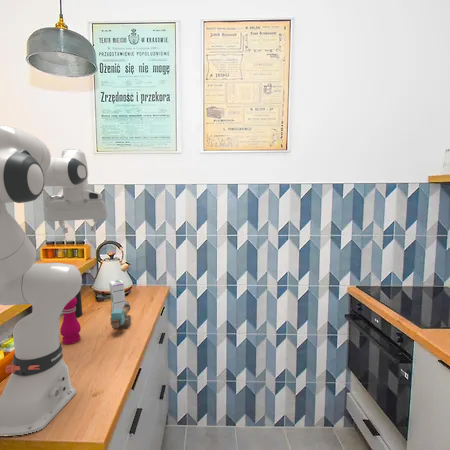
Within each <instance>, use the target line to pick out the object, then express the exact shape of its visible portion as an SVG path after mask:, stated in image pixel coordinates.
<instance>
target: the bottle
mask: <svg viewBox="0 0 450 450" xmlns="http://www.w3.org/2000/svg"><path fill="white" fill-rule="evenodd" d="M81 289H82V288H81ZM81 289H80V291H79V292H78V294H77V295H76V296H75V297H76V299H77V303H76V305H75V306H76V311H75V316H76V318H77V319H78V318H80V317H82V315H83V304H82V291H81Z"/></svg>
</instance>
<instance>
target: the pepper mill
mask: <svg viewBox="0 0 450 450" xmlns="http://www.w3.org/2000/svg"><path fill="white" fill-rule="evenodd" d="M76 303H77V299H76V297H74V298H73V299H72V300H70V301H69V302H68V303H67V304H66V306H65V307H64V309H63V310H62V313H61V314H63V315H62V316H63V320H62V324H61V326H60V328H59V334H60V336H62V338H61V339H62V343H63V344H64V345H72V344H75V343H77V342H79V341H80V339H81V335H80V332H81V329H82V327H81V324H80V322H79V320H78V317H77V318H76V316H75V311H76V306H75V305H76Z"/></svg>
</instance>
